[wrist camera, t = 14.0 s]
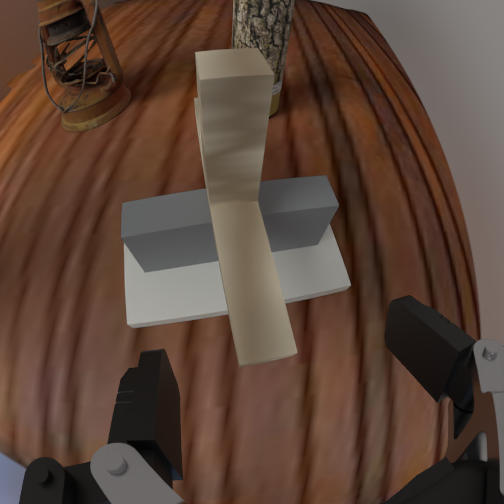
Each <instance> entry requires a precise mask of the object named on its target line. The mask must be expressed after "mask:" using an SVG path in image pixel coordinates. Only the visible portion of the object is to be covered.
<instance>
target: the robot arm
mask: <svg viewBox="0 0 504 504" xmlns="http://www.w3.org/2000/svg"><path fill="white" fill-rule="evenodd" d="M385 342H386V345H387V347H388V349H389V350H390V351H391V352H392V353H393V354H394V356H395V357H396V358H397V359H398V360H399V361H400V362H401V363H402V364H403V365H404V366H405V367H406V369H407V370H408V371H409V372H410V373H411V374H412V375H413V376H414V377H415V378H416V380H417V381H418V382H419V383H420V384H421V385H422V386H423V387H424V388H425V390H426V391H427V392H428V393H429V394H430V395H431V396H432V397H433V399H434V400H435V401H436V402H437V403H438V402H440V401H441V400H443V399H445V398H446V397H448V396H449V397H450V399H451V400H450V402H449V404H448V447H447V451H446V453H445V456H444V458H443V459H442V460H441V461H439V462H438V463H436V464H435V465H433V466H431V467H430V468H428V469H427V470H425V471H423V472H422V473H420V474H418V475H417V476H415V477H414V478H413V479H412V480H411V481H410V482H409V483H408V484H407V485H406V486H404V487H403V488H402V489H401V490H400V491H399V492H397V493H396V494H395V495H394V496H393V497H391V498H390V499H389V500H387V501H386V502H384V503H381V504H504V346H503V345H502V344H500V343H499V342H497V341H495V340H492V339H481V340H479V341H477V342H476V341H475V340H474V339H473V338H471V337H470V336H469V335H467V334H466V333H465V332H464V331H462V330H461V329H460V328H459V327H457V326H456V325H455V324H453V323H450V321H449V320H448V319H447V318H446V317H443V315H442V314H440V313H439V312H438V311H436V310H435V309H433V308H431V307H428V306H426V305H423V304H422V303H420V302H419V301H418V300H416V299H415V298H414V297H412V296H410V295H408V296H404V297H401V298H398V299H395V300H392V301H391V302H390V305H389V310H388V317H387V323H386V329H385ZM172 480H183V471H182V453H181V425H180V394H179V388H178V384H177V381H176V378H175V376H174V373H173V370H172V368H171V365H170V362H169V359H168V356H167V354H166V351H165V350H164V349H158V350H150V351H142V352H141V354H140V359H139V364H138V367H135V368H129V369H128V370H127V372H126V373H125V374H124V376H123V377H122V378H121V380H120V385H119V389H118V394H117V398H116V404H115V407H114V412H113V417H112V422H111V428H110V433H109V439H108V443H107V445H105V446H103V447H101V448H100V449H99V450H97V451H96V453H95V454H94V455H93V457H92V460H91V461H90V462H87V463H82V464H78V465H73V466H67V467H63V466H62V465H60V464H59V463H58V462H57V461H56V460H54V459H52V458H49V457H42V458H38V459H36V460H34V461H33V462H31V463H30V464H29V466H28V467H27V469H26V472H25V476H24V480H23V485H22V491H21V495H20V501H19V504H187V503H186V502H185V501H184V500H183V499H181V498H180V497H179V496H178V495H177V494H176V493H175V492H174V491H173V485H172Z"/></svg>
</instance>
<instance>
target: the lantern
mask: <svg viewBox="0 0 504 504" xmlns="http://www.w3.org/2000/svg"><path fill="white" fill-rule="evenodd" d="M37 5H38V8H39V10H38V15H39V25H38V27H39V41H40V45H41V57H42V72H43V80H44V86H45V90H46V93H47V95H48V97H49V99H50V100H51V102H52V103H53V104H54V105H55V106H56V107H57V108H58V109H59V110H60V112H61V114H62V117H61V126H62V128H63V129H64V130H65V131H69V132H76V131H77V132H82V131H85V130H90V129H93V128H95V127H98V126H100V125H102V124H104V123H106V122H108V121H109V120H110V119H112V118H114V117H115V116H116V115H118V114H119V113H120V112H121V111H122V110H123V109H124V108H125V107H126V106H127V105H128V103H129V102H130V100H131V91H130V90H129V89H128V88H127V87H126V86H124V83H123V73H122V69H121V66H120V64H119V61H118V58H117V55H116V53H115V50H114V47H113V45H112V42H111V39H110V36H109V34H108V31H107V28H106V25H105V22H104V20H103V17H102V14H101V11H100V8H99V5H98V0H37ZM87 16H88V18H87ZM90 28H91V29H90ZM89 29H90V32H89V34H88V36H78V35H80V34H82V33H83V32H85V31H87V30H89ZM91 34H94V35H93V36H90V35H91ZM76 37H77V38H76ZM86 37H87V38H86ZM83 38H86V40H84V41H83V42H81V43H80V44H78V45H77V46H75V47H74V48H73V49H72V50H70V51H69V52H68V53H67V54H66V52H65V50H66V49H67V47H68V46H69V44H70V43H68V44H67V46H66V47H65V49H64V50H63V52H62V53H61V55H60V54H59V52H58V48H57V46H58V45H59V44H61V43H63V42H64V43H65V42H67V41H71V40H79V39H83ZM92 39H93V40H95V41H94V42H93V44H92V45H91V47H90V49H89V50H88V43H89V41H91V40H92ZM43 42H44V44H45V48H46V52H47V58H46V61H47V62H46V63H47V65H48V67H49V71H52V74H53V77H54V79H55V81H56V82H57V83H58V84H59V85H60V86H61V87H62V88H64V89H65V92H64V94H63V95H62V97H61V99H60V100H59V105H58V106H57V105H56V104H55V103H54V101H53V100H52V98H51V97H50V95H49V92H48V89H47V84H46V78H45V69H44V60H45V57H44V53H43V44H42V43H43ZM96 42H97V43H98V46H99V49H100V51H101V54H102V56H103V59H99V58H98V59H91V60H87V53H88V52H89V51H90V50H91V49H92V47H93V46H94V45H95V44H96ZM84 44H86V48H85V54H84V55H83V56H82V57H81V58H80V59H79V60H78V61H77V62H76V64H74V65H73V66H72V67H71V68H70V69H69V70H67V71H66V70H65V67H64V64H65V63H66V62H67V61H66V58H67V57H68V56H70V55H71V54H73V53H74V52H75V51H76V50H77V49H79V48H80V47H81V46H82V45H84ZM62 55H63V57H62ZM61 57H62V58H61ZM84 57H85V59H84V62H81V61H82V59H83V58H84ZM48 60H49V62H48ZM49 64H50V66H49ZM50 69H51V70H50Z"/></svg>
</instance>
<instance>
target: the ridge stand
mask: <svg viewBox="0 0 504 504" xmlns="http://www.w3.org/2000/svg"><path fill="white" fill-rule="evenodd" d="M258 204H259V208H260V211H261V215H262V218H263V222H264V226H265V230H266V233H267V237H268V241H269V244H270V248H271V252H272V256H273V259H274V263H275V267H276V271H277V274H278V278H279V282H280V286H281V290H282V294H283V297H284V301H285V304H286V303H291V302H295V301H300V300H305V299H310V298H314V297H319V296H323V295H328V294H332V293H337V292H341V291H345V290H346V289H348V288H349V287H350V286H351V283H350V280H349V277H348V274H347V271H346V268H345V265H344V262H343V259H342V256H341V253H340V251H339V248H338V245H337V242H336V239H335V237H334V234H333V231H332V228H331V226H330V222H331V220H332V218H333V216H334V214H335V212H336V211H337V209H338V207H339V204H338V201H337V199H336V197H335V194H334V192H333V190H332V187H331V185H330V183H329V181H328V178H327V176H326V175H323V176H310V177H298V178H288V179H278V180H268V181H260V187H259V194H258ZM121 239H122V240H123V242H124V273H125V297H126V313H127V325H129V326H130V327H132V328H138V327H146V326H154V325H161V324H169V323H176V322H183V321H189V320H196V319H202V318H208V317H215V316H221V315H227V314H228V309H227V304H226V299H225V293H224V288H223V283H222V278H221V272H220V267H219V261H218V256H217V250H216V244H215V239H214V233H213V227H212V221H211V215H210V209H209V203H208V197H207V190H206V189H199V190H193V191H186V192H180V193H174V194H168V195H163V196H157V197H151V198H146V199H141V200H136V201H130V202H125V203H122V218H121Z"/></svg>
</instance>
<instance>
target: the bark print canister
mask: <svg viewBox="0 0 504 504" xmlns="http://www.w3.org/2000/svg"><path fill="white" fill-rule="evenodd" d="M294 3H295V0H234V3H233V28H232V49H241V48H258V49H259V50H260V52H261V54H262V55H263V57H264V58H265V60H266V62H267V63H268V65H269V66H270V68H271V70H272V71H273V73H274V75H275V76H274V83H273V91H272V98H271V105H270V113H269V116H271V115H273V114H274V113H275V112H276V111H277V109H278V104H279V98H280V92H281V86H282V80H283V74H284V67H285V61H286V55H287V48H288V42H289V36H290V29H291V23H292V16H293V10H294Z"/></svg>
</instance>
